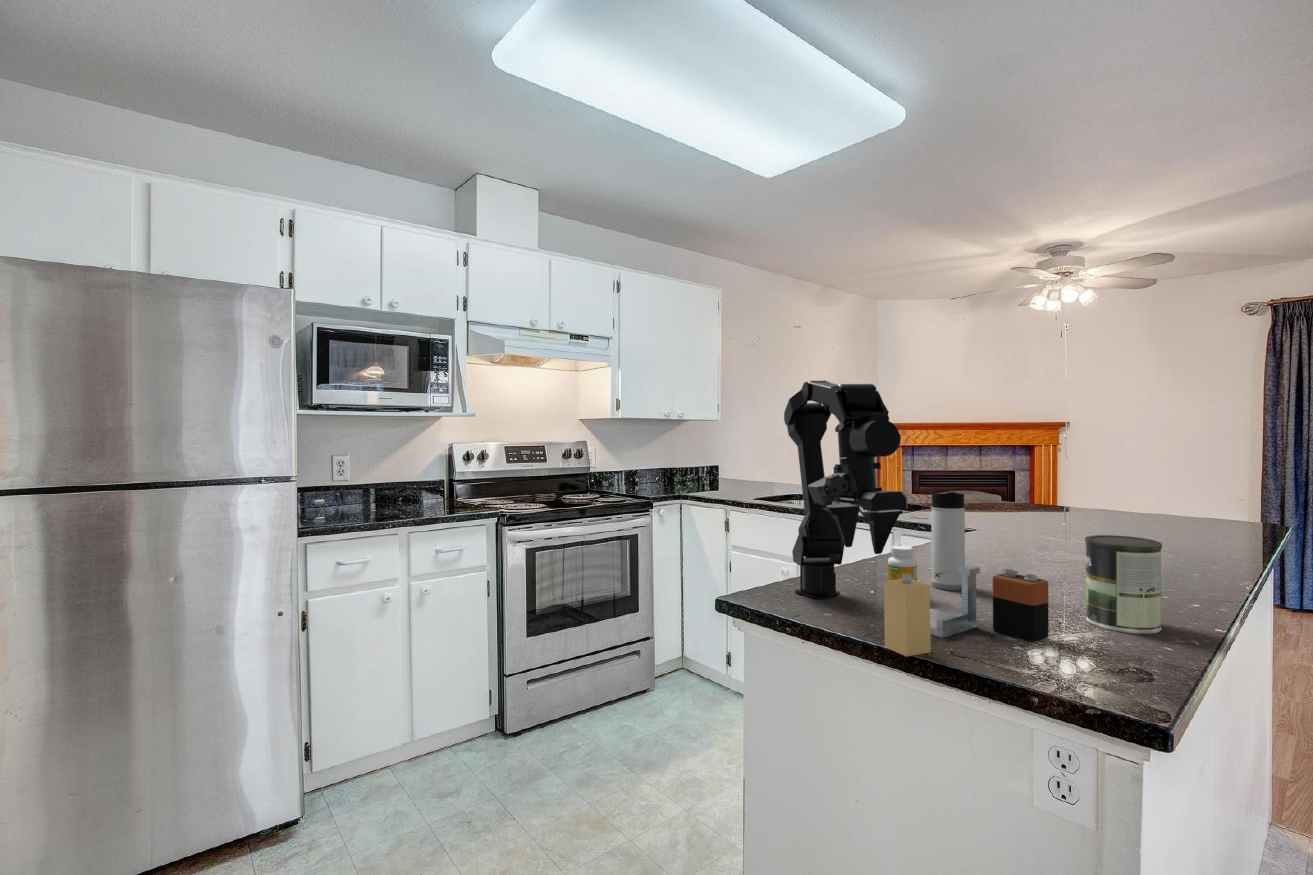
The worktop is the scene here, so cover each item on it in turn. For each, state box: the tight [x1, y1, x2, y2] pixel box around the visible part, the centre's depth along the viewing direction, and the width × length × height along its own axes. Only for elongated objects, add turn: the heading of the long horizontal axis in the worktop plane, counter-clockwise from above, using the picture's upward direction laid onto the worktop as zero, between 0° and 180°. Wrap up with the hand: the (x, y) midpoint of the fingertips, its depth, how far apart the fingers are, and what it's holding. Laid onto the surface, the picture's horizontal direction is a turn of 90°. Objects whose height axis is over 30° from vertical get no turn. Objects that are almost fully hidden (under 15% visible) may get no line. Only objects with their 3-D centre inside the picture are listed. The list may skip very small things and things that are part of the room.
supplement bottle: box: [887, 545, 918, 581], centre depth 124 cm, size 5×5×10 cm
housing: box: [883, 574, 932, 658], centre depth 94 cm, size 4×4×11 cm
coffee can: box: [1084, 534, 1163, 635], centre depth 105 cm, size 10×10×14 cm
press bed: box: [930, 564, 981, 639], centre depth 106 cm, size 10×10×10 cm
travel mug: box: [930, 491, 966, 592], centre depth 131 cm, size 6×7×20 cm
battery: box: [992, 568, 1050, 643], centre depth 101 cm, size 4×7×10 cm, turn 29°
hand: (862, 550), depth 106 cm, fingers open, 9 cm apart
